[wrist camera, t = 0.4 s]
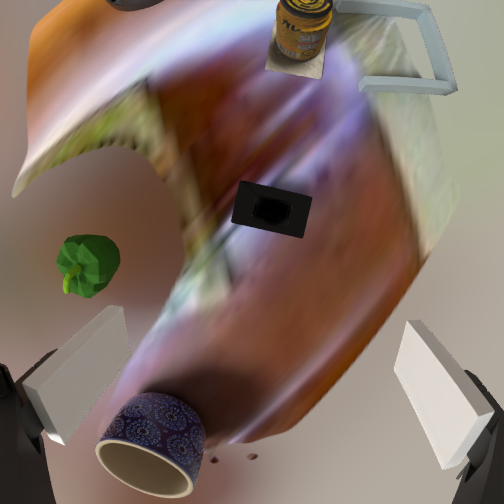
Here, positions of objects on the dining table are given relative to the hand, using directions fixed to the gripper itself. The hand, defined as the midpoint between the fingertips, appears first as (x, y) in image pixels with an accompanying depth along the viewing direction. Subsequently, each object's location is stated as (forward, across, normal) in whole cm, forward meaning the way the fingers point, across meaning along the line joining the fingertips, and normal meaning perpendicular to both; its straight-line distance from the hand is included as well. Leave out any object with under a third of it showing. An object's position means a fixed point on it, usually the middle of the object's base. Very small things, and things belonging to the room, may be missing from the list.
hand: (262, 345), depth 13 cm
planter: (+26, -17, -34) cm, 46 cm away
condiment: (+27, +3, +25) cm, 37 cm away
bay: (+27, +17, +28) cm, 42 cm away
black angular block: (+27, 0, +3) cm, 27 cm away
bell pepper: (+27, -24, -4) cm, 36 cm away
